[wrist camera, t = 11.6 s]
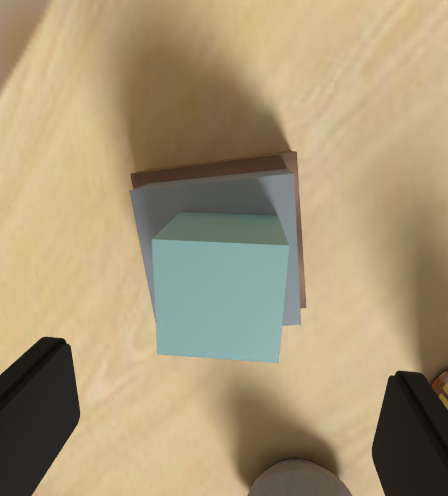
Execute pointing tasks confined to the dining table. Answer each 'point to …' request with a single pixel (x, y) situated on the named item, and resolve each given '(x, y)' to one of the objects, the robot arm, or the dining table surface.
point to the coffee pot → (298, 481)
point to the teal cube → (220, 286)
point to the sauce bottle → (442, 387)
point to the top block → (226, 202)
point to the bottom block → (235, 167)
